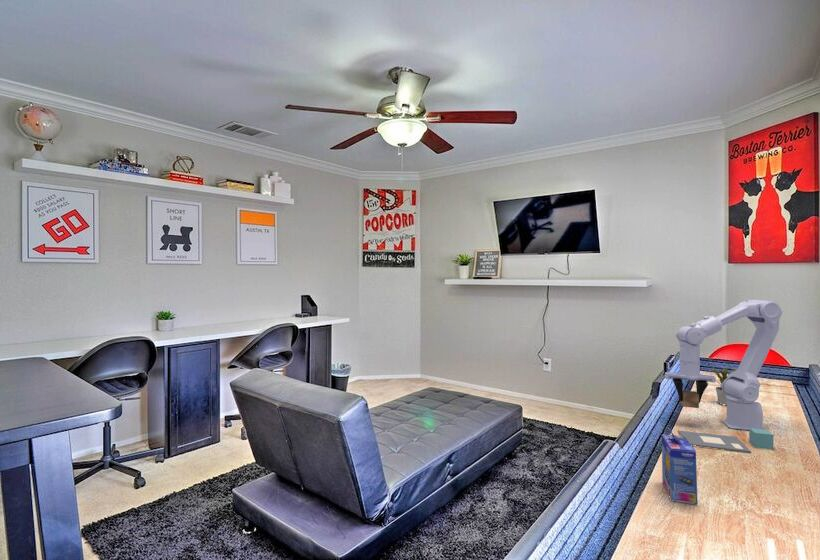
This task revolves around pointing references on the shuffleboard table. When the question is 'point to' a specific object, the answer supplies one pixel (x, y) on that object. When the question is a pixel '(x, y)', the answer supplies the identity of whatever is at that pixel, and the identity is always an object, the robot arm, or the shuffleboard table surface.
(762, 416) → the robot arm
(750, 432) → the teal block
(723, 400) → the house plant
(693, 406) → the walnut block
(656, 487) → the shuffleboard table surface
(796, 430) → the shuffleboard table surface
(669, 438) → the ink cartridge box
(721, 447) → the board
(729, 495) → the shuffleboard table surface
